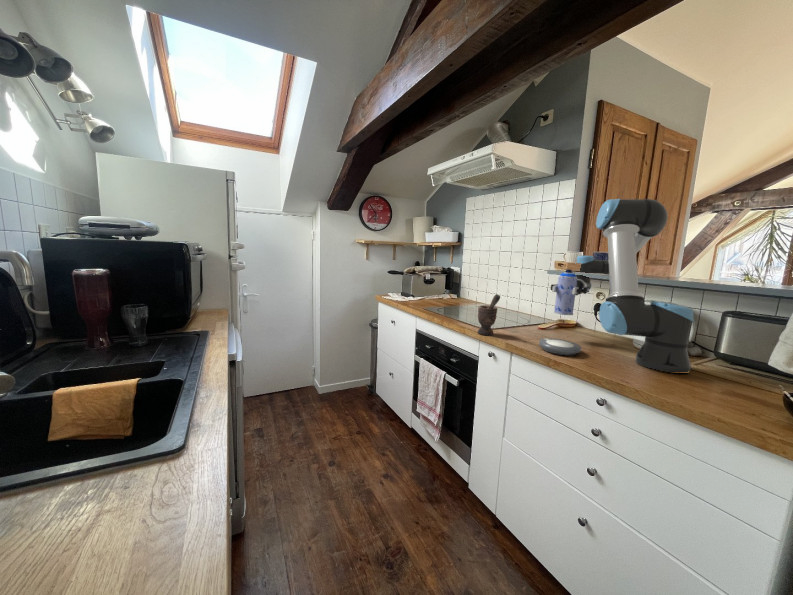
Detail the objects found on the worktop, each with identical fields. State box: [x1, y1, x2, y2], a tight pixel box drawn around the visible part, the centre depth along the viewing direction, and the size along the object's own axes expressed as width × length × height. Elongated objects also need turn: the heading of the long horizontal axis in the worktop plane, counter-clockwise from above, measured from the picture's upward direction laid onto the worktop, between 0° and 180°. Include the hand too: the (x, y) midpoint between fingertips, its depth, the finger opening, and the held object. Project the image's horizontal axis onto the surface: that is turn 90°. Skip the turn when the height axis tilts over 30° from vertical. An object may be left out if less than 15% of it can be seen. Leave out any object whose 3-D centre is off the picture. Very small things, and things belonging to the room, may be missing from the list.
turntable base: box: [542, 347, 577, 357], centre depth 125 cm, size 12×12×1 cm
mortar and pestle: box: [476, 294, 501, 336], centre depth 144 cm, size 12×9×20 cm
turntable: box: [538, 337, 582, 354], centre depth 124 cm, size 15×15×2 cm
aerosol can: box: [553, 269, 577, 316], centre depth 138 cm, size 8×8×20 cm
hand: (563, 290), depth 134 cm, fingers closed on aerosol can, 7 cm apart
